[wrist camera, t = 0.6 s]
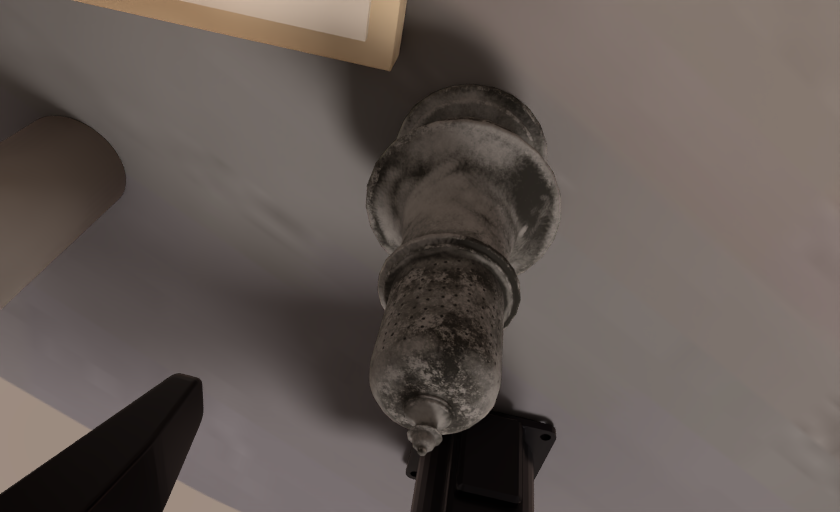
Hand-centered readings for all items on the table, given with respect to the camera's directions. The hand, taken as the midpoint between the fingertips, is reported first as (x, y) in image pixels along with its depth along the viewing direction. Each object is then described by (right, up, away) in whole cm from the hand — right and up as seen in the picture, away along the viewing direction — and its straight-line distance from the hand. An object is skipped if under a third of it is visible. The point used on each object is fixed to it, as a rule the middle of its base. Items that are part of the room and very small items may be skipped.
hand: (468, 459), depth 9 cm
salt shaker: (+1, +7, +11) cm, 13 cm away
